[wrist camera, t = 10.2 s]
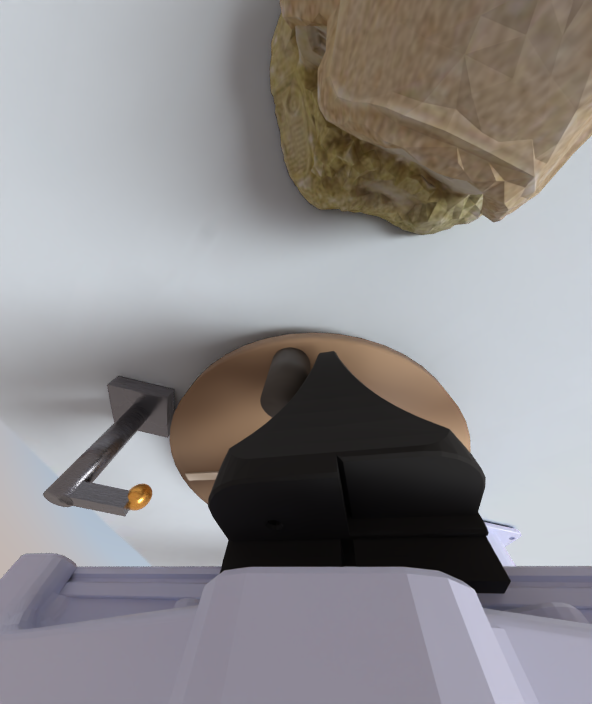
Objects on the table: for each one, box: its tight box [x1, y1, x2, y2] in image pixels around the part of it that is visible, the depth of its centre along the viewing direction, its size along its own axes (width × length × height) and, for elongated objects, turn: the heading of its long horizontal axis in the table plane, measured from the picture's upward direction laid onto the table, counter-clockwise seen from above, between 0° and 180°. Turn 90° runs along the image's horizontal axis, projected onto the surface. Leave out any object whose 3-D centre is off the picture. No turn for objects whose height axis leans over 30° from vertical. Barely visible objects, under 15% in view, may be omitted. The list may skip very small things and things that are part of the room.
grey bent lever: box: [43, 376, 174, 516], centre depth 14 cm, size 4×6×7 cm, turn 76°
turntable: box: [170, 333, 470, 504], centre depth 15 cm, size 20×20×4 cm
